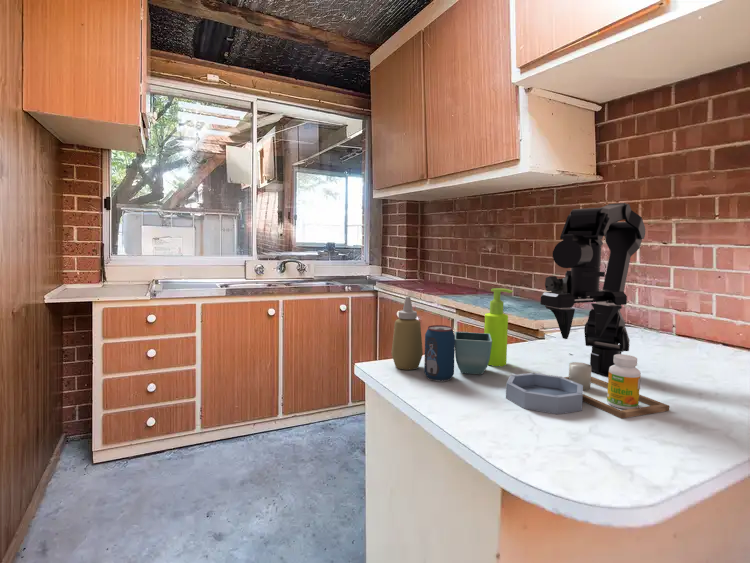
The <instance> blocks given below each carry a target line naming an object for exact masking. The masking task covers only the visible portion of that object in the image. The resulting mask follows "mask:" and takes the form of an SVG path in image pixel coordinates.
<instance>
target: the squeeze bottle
mask: <svg viewBox="0 0 750 563" xmlns="http://www.w3.org/2000/svg"><path fill="white" fill-rule="evenodd" d="M412 305H413V304H412V299H411V296H405V299H404V304H403V308H402V310H399V311H398V319H396V320H395V321H394V326H393V336H392V345H391V346H392V347H391V357H392V360H393V362H394V366H395V368H397V369H399V370H407V371H409V370H410V371H411V370H416V369H418V368H419V366H420V363H421V360H422V358H423V354H424V352H423V340H422V328H421V327H422V326H421V321H420V320H419V319H417V318H418V312H417V311H416V310H413V306H412Z"/></svg>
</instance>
